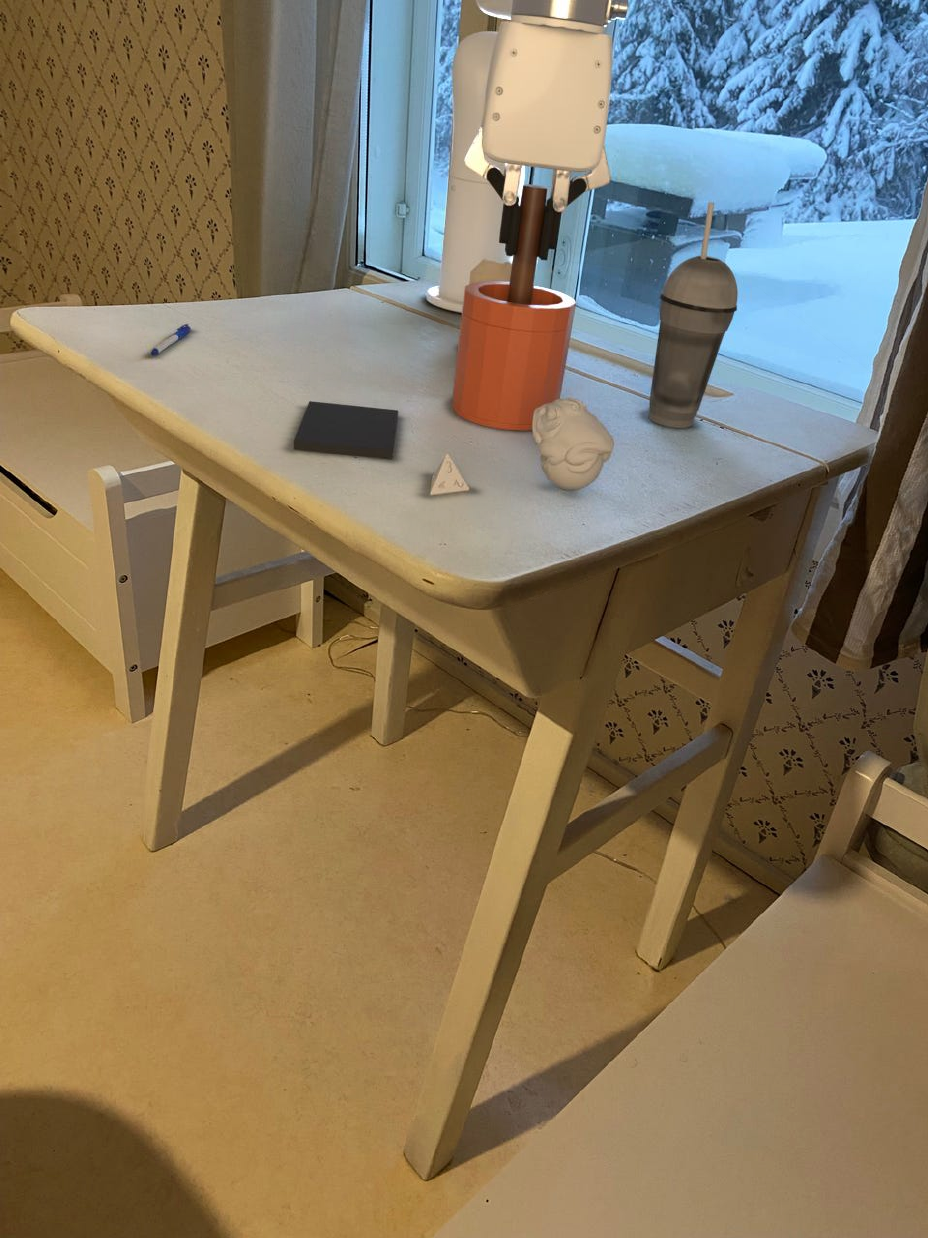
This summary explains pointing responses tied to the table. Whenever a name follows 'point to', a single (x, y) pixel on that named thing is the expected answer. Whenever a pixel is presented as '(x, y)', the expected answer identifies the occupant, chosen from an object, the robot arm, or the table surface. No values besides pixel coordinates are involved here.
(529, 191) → the brush
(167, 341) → the blue and white marker
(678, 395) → the beverage cup
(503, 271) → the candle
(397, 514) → the table surface
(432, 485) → the tetrahedral die
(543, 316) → the jar
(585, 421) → the frog figurine
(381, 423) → the mat
